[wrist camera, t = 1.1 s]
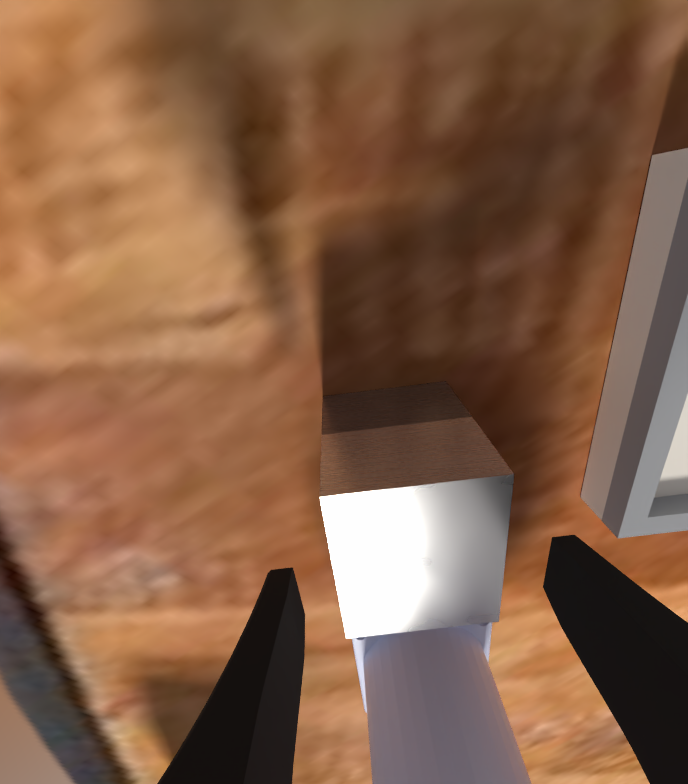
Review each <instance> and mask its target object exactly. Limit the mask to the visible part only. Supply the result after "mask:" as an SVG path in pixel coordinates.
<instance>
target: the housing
mask: <svg viewBox="0 0 688 784" xmlns="http://www.w3.org/2000/svg"><path fill="white" fill-rule="evenodd" d="M513 481H514V473H513V472H512V470H511V469H510V468H509V466H508V465H507V464H506V462H505V461H504V460H503V458H502V457H501V455H500V454H499V453H498V451H497V450H496V449H495V447H494V446H493V445H492V443H491V442H490V440H489V439H488V438H487V436H486V435H485V434H484V432H483V431H482V430H481V428H480V427H479V425H478V424H477V423H476V421H475V420H474V419H473V417H472V416H471V415H470V413H469V412H468V411H467V409H466V408H465V406H464V405H463V404H462V402H461V401H460V400H459V398H458V397H457V396H456V394H455V393H454V391H453V390H452V389H451V387H450V386H449V385H448V383H447V382H446V381H444V382H435V383H427V384H419V385H411V386H403V387H395V388H387V389H378V390H370V391H362V392H354V393H346V394H338V395H329V396H323V408H322V438H321V469H320V502H321V507H322V513H323V518H324V523H325V529H326V534H327V539H328V545H329V550H330V555H331V560H332V566H333V571H334V576H335V582H336V587H337V592H338V598H339V603H340V608H341V613H342V619H343V624H344V629H345V635H346V639H348V638H357V637H366V636H375V635H384V634H393V633H402V632H410V631H419V630H428V629H437V628H446V627H455V626H464V625H473V624H482V623H490V622H499V614H500V605H501V595H502V586H503V576H504V567H505V557H506V548H507V538H508V529H509V519H510V510H511V500H512V491H513Z"/></svg>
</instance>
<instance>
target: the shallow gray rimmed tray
mask: <svg viewBox="0 0 688 784" xmlns="http://www.w3.org/2000/svg"><path fill="white" fill-rule="evenodd" d="M580 497H581V498H582V500H583V501H584V502H585V503H586V504H587V505H588V506H589V507H590V508H591V509H592V510H593V512H594V513H595V514H596V515H597V516H598V517H599V518H600V519H601V520H602V521H603V523H604V524H605V525H606V526H607V527H608V528H609V529H610V530H611V531H612V532H613V534H614V535H615V536H616V537H617V538H624V537H633V536H642V535H650V534H659V533H668V532H676V531H685V530H688V148H685V149H680V150H675V151H670V152H665V153H660V154H655V155H652V159H651V164H650V169H649V173H648V178H647V183H646V188H645V192H644V197H643V202H642V207H641V211H640V216H639V221H638V226H637V230H636V235H635V240H634V245H633V249H632V254H631V259H630V264H629V268H628V273H627V278H626V283H625V287H624V292H623V297H622V302H621V306H620V311H619V316H618V321H617V325H616V330H615V335H614V340H613V344H612V349H611V354H610V359H609V363H608V368H607V373H606V378H605V382H604V387H603V392H602V397H601V401H600V406H599V411H598V416H597V420H596V425H595V430H594V435H593V439H592V444H591V449H590V454H589V458H588V463H587V468H586V473H585V477H584V482H583V487H582V492H581V496H580Z"/></svg>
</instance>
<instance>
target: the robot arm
mask: <svg viewBox="0 0 688 784" xmlns="http://www.w3.org/2000/svg"><path fill="white" fill-rule="evenodd" d="M543 588H544V590H545V592H546V595H547V597H548V599H549V601H550V603H551V606H552V608H553V610H554V612H555V614H556V616H557V619H558V621H559V623H560V625H561V627H562V629H563V631H564V632H565V634H566V636H567V638H568V639H569V641H570V643H571V644H572V646H573V648H574V650H575V651H576V653H577V655H578V656H579V658H580V660H581V662H582V663H583V665H584V667H585V668H586V670H587V672H588V673H589V675H590V677H591V678H592V680H593V682H594V684H595V685H596V687H597V689H598V690H599V692H600V694H601V695H602V697H603V699H604V700H605V702H606V704H607V705H608V707H609V709H610V711H611V712H612V714H613V716H614V717H615V719H616V721H617V722H618V724H619V726H620V727H621V729H622V731H623V733H624V735H625V736H626V738H627V740H628V742H629V744H630V745H631V747H632V749H633V751H634V753H635V755H636V757H637V759H638V761H639V763H640V765H641V767H642V769H643V771H644V773H645V775H646V777H647V779H648V781H649V783H650V784H688V623H687V622H686V621H685V620H683V619H682V618H680V617H679V616H678V615H676V614H675V613H674V612H672V611H671V610H670V609H668V608H667V607H666V606H665V605H663V604H662V603H661V602H659V601H658V600H657V599H655V598H654V597H653V596H651V595H650V594H649V593H647V592H646V591H645V590H644V589H642V588H641V587H640V586H638V585H637V584H636V583H635V582H633V581H632V580H631V579H629V578H628V577H627V576H626V575H624V574H623V573H622V572H621V571H619V570H618V569H617V568H616V567H614V566H613V565H612V564H611V563H609V562H608V561H607V560H605V559H604V558H603V557H602V556H600V555H599V554H598V553H597V552H595V551H594V550H593V549H592V548H590V547H589V546H588V545H587V544H585V543H584V542H583V541H582V540H580V539H579V538H578V537H577V536H575V535H569V536H560V537H552V541H551V546H550V552H549V557H548V563H547V568H546V574H545V579H544V585H543ZM491 630H492V622H490V623H482V624H473V625H464V626H455V627H446V628H437V629H428V630H419V631H410V632H402V633H393V634H384V635H375V636H366V637H357V638H352V643H353V648H354V654H355V659H356V665H357V670H358V676H359V682H360V687H361V693H362V698H363V704H364V710H365V712H366V713H367V718H368V731H369V744H370V757H371V769H372V782H373V784H531V781H530V778H529V775H528V772H527V770H526V767H525V764H524V761H523V759H522V756H521V753H520V750H519V747H518V745H517V742H516V739H515V736H514V734H513V731H512V728H511V725H510V722H509V720H508V717H507V714H506V711H505V709H504V706H503V703H502V700H501V697H500V695H499V692H498V689H497V686H496V684H495V681H494V678H493V675H492V673H491V670H490V667H489V664H488V663H489V652H490V641H491ZM304 648H305V613H304V609H303V605H302V601H301V597H300V593H299V590H298V586H297V582H296V578H295V574H294V570H293V568H284V569H275V570H271V571H270V572H269V573H268V575H267V577H266V580H265V582H264V585H263V587H262V590H261V592H260V595H259V597H258V600H257V602H256V604H255V607H254V609H253V611H252V613H251V616H250V618H249V620H248V622H247V624H246V627H245V629H244V631H243V633H242V635H241V637H240V639H239V641H238V643H237V645H236V647H235V649H234V651H233V654H232V656H231V658H230V660H229V662H228V664H227V665H226V667H225V669H224V671H223V673H222V675H221V677H220V679H219V680H218V682H217V684H216V686H215V688H214V690H213V692H212V694H211V695H210V697H209V699H208V701H207V703H206V705H205V706H204V708H203V710H202V712H201V713H200V715H199V717H198V719H197V720H196V722H195V724H194V726H193V727H192V729H191V731H190V732H189V734H188V736H187V737H186V739H185V741H184V742H183V744H182V746H181V747H180V749H179V750H178V752H177V754H176V755H175V757H174V759H173V760H172V762H171V763H170V765H169V767H168V768H167V770H166V771H165V773H164V774H163V776H162V777H161V779H160V780H159V782H158V784H292V774H293V762H294V752H295V743H296V733H297V723H298V714H299V704H300V695H301V685H302V675H303V665H304Z"/></svg>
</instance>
